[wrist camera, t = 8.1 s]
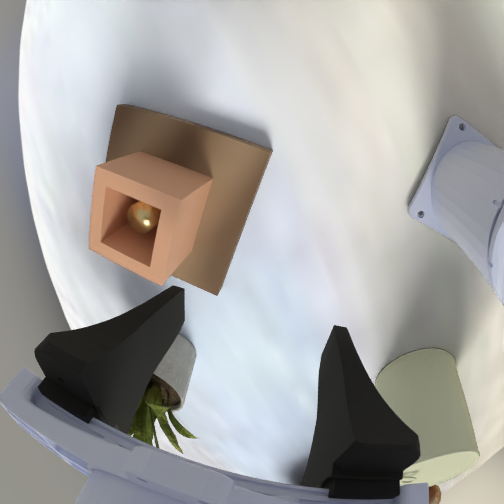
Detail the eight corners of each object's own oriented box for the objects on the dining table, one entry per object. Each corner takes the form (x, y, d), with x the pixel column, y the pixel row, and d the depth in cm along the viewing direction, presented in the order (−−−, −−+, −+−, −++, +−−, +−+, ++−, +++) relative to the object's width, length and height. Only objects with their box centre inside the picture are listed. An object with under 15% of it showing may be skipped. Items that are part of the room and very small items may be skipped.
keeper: (272, 150, 19) (259, 161, 15) (221, 287, 25) (202, 323, 21) (126, 104, 19) (85, 107, 15) (105, 233, 25) (73, 256, 21)
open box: (213, 178, 19) (181, 200, 15) (191, 250, 22) (161, 286, 18) (140, 151, 19) (96, 165, 15) (127, 221, 22) (88, 248, 18)
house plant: (90, 307, 31) (5, 403, 16) (164, 263, 25) (42, 409, 11) (164, 389, 35) (111, 489, 20) (251, 372, 29) (204, 517, 15)
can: (389, 346, 24) (404, 464, 13) (468, 347, 22) (501, 446, 12) (364, 402, 28) (363, 498, 18) (434, 401, 26) (447, 488, 16)
